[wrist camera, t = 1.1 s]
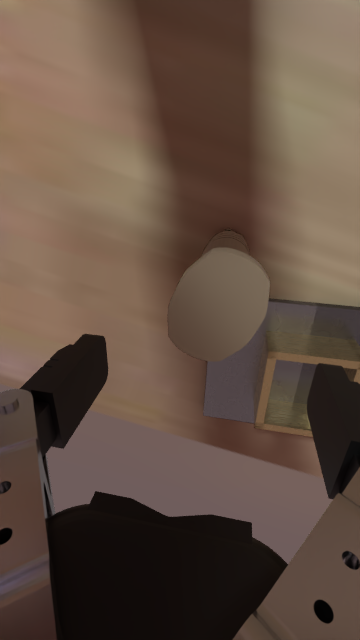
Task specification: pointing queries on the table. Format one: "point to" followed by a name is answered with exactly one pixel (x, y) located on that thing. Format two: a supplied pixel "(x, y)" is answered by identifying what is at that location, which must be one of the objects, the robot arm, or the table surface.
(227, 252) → the handle
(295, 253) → the table surface
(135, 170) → the table surface
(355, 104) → the table surface
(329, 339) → the square socket base
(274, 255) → the table surface
